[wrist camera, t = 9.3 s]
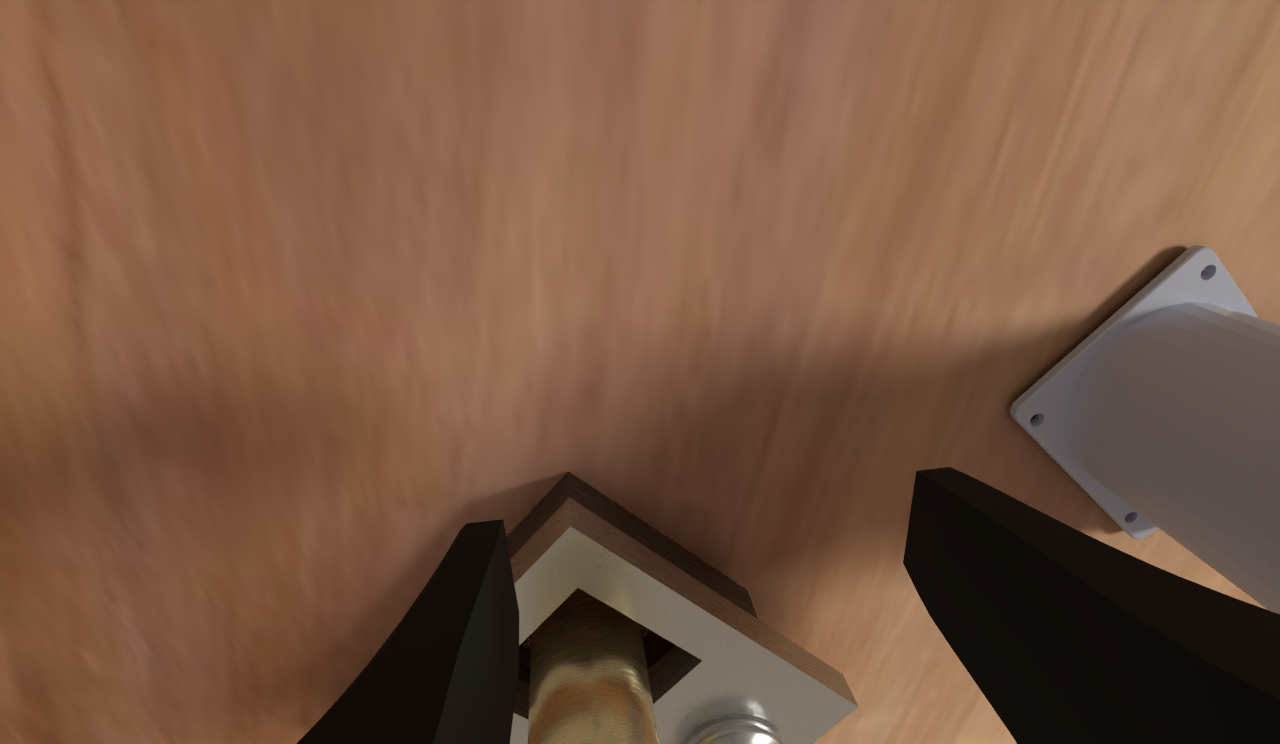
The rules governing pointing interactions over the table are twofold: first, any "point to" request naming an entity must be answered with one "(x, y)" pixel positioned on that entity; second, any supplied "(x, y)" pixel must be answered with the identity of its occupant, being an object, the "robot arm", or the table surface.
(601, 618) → the brass pin
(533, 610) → the grey square hole plate
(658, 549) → the black base board
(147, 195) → the table surface
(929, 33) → the table surface
